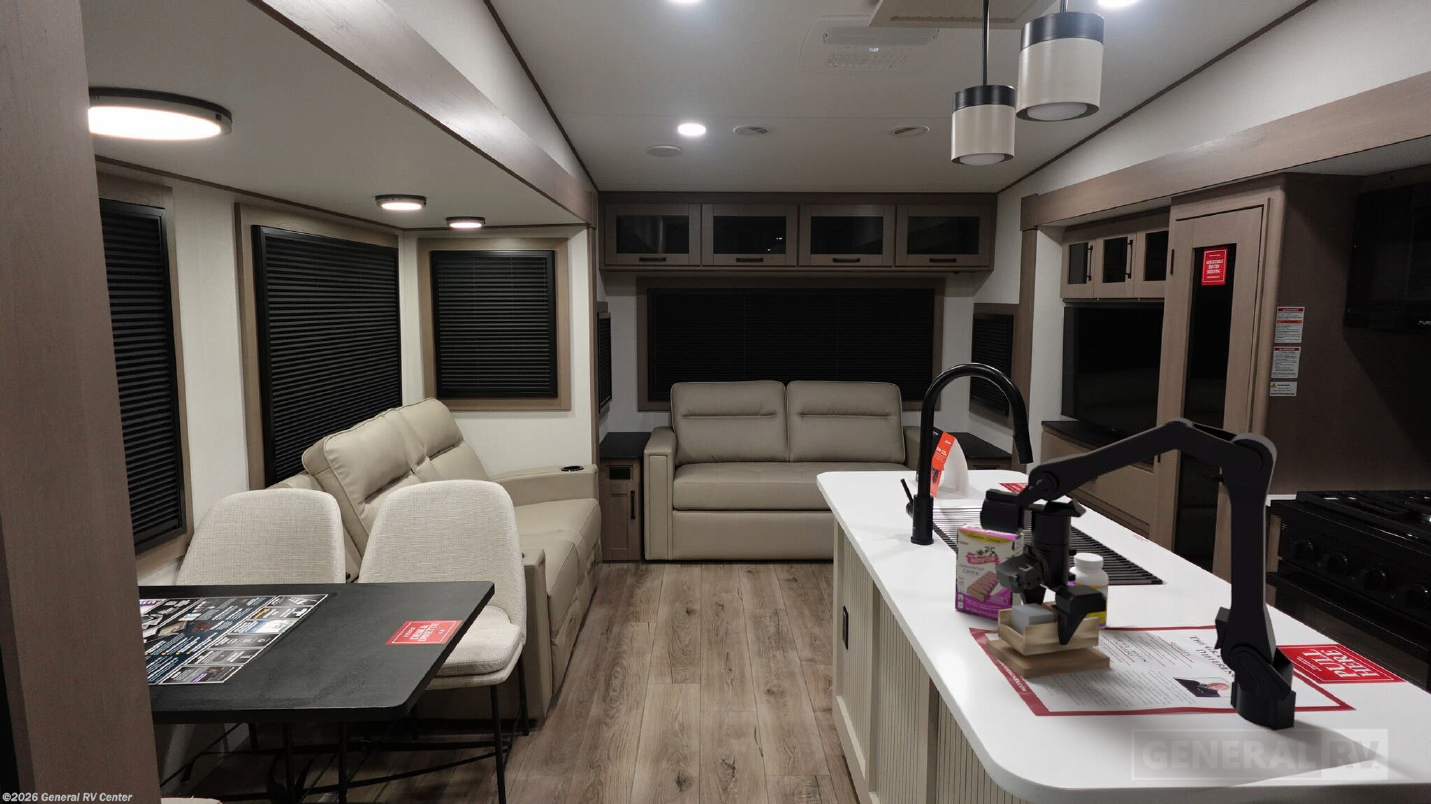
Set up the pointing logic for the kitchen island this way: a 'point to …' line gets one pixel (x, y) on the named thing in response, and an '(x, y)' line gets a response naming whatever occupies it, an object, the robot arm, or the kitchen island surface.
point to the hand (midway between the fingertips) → (1047, 634)
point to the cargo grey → (1029, 616)
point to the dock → (1047, 660)
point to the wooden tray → (1046, 635)
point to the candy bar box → (984, 570)
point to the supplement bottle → (1091, 579)
